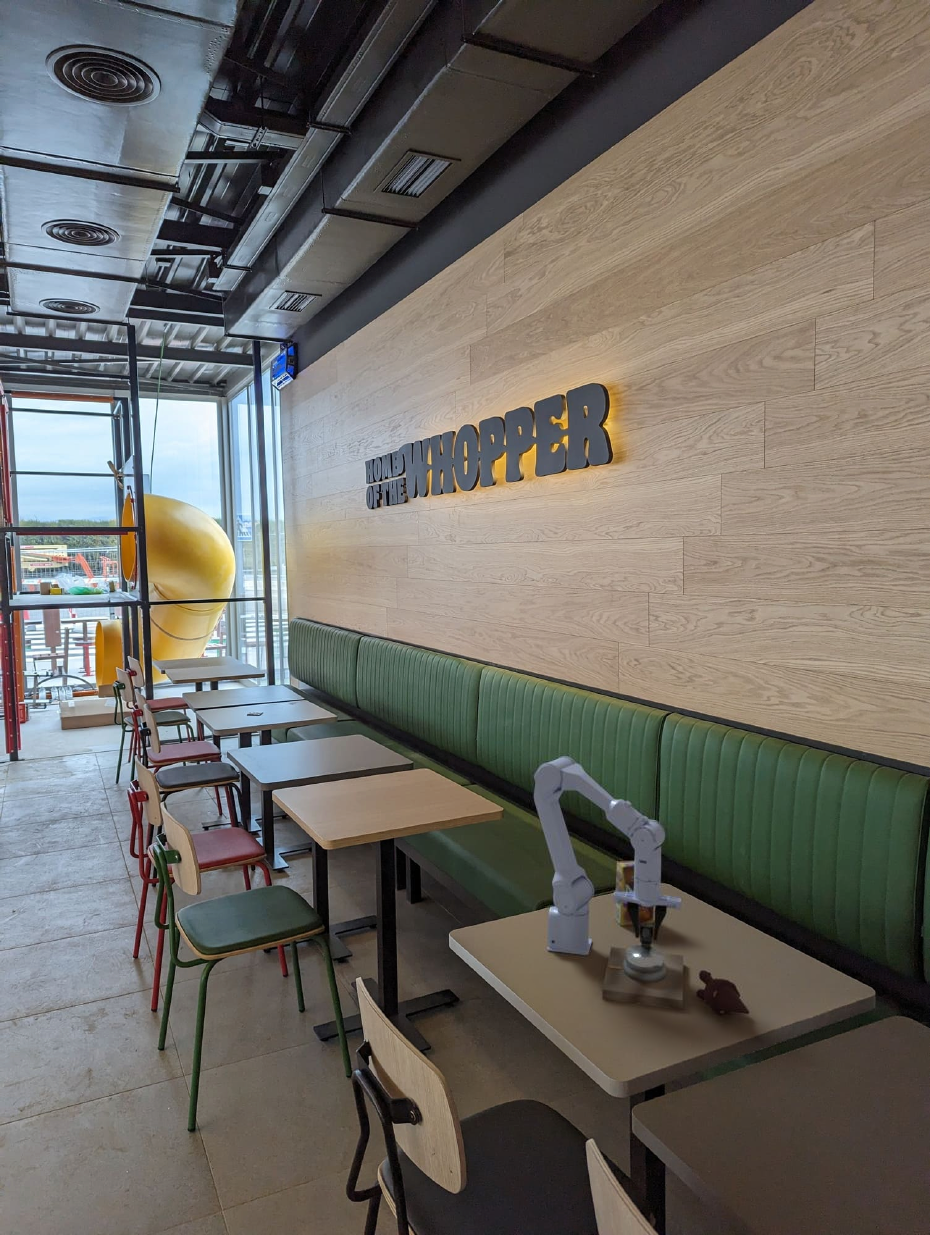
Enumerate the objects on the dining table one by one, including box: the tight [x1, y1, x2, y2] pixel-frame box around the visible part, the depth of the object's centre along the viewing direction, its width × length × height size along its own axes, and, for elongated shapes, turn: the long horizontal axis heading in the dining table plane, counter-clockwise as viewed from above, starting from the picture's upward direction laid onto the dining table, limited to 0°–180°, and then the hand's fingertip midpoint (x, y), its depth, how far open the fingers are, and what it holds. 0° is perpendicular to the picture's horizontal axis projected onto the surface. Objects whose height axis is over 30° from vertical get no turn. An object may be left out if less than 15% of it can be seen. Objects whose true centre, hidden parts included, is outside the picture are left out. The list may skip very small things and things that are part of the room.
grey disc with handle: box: [626, 923, 664, 973], centre depth 180 cm, size 11×8×6 cm
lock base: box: [601, 946, 684, 1011], centre depth 178 cm, size 16×20×4 cm
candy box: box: [614, 860, 655, 927], centre depth 208 cm, size 9×4×15 cm, turn 102°
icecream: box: [695, 969, 750, 1017], centre depth 165 cm, size 7×7×15 cm
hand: (646, 937), depth 184 cm, fingers open, 3 cm apart
